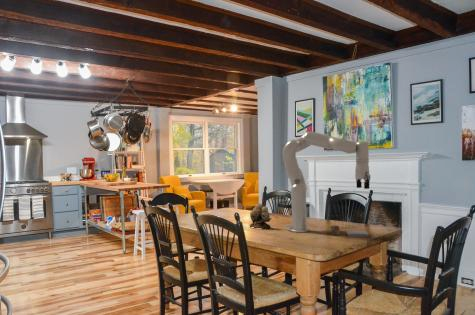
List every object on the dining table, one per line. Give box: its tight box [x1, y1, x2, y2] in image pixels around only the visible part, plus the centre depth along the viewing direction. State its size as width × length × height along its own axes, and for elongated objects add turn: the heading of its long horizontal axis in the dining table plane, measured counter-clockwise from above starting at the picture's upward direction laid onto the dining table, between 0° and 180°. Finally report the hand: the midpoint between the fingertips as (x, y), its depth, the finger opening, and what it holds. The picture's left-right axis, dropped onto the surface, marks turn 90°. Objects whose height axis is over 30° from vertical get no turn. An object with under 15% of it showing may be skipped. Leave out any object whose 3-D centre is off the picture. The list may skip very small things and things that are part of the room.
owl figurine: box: [248, 203, 272, 229], centre depth 260 cm, size 18×12×17 cm, turn 49°
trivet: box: [345, 230, 370, 238], centre depth 228 cm, size 12×12×2 cm
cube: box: [330, 225, 341, 236], centre depth 232 cm, size 5×5×5 cm
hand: (362, 188), depth 237 cm, fingers open, 9 cm apart
